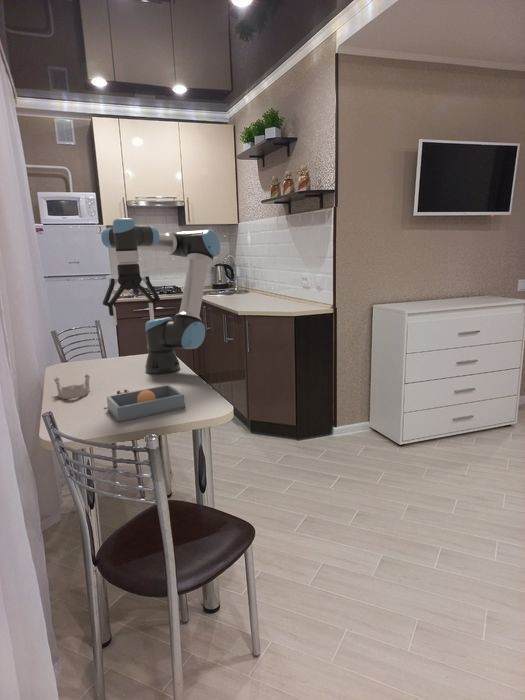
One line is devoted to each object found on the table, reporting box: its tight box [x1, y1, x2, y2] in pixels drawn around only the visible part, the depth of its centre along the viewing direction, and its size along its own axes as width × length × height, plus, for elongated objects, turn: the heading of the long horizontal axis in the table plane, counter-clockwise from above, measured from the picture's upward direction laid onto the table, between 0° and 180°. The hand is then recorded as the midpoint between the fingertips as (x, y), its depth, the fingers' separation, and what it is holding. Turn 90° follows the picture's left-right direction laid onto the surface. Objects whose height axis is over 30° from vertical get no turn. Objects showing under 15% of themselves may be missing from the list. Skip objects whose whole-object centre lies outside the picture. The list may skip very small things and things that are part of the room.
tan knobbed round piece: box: [116, 388, 130, 394], centre depth 164 cm, size 4×4×3 cm
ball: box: [137, 390, 156, 403], centre depth 153 cm, size 6×6×6 cm
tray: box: [106, 384, 186, 423], centre depth 154 cm, size 22×15×5 cm
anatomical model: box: [53, 373, 91, 400], centre depth 172 cm, size 13×11×10 cm
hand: (134, 322), depth 167 cm, fingers open, 13 cm apart
